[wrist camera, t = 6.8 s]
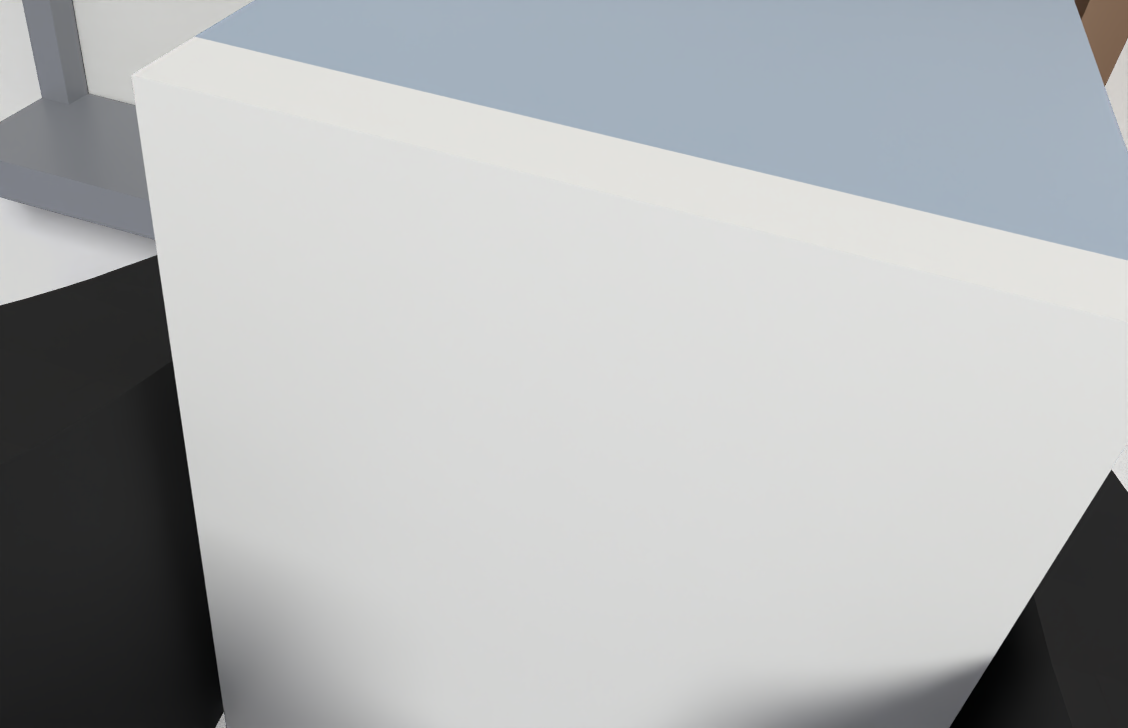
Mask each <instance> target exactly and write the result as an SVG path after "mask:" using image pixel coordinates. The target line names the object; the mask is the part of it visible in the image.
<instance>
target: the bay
mask: <svg viewBox="0 0 1128 728" xmlns="http://www.w3.org/2000/svg"><path fill="white" fill-rule="evenodd" d="M22 2H23V7H24V12H25V17H26V21H27V26H28V31H29V36H30V41H31V46H32V51H33V56H34V61H35V65H36V70H37V75H38V80H39V85H40V90H41V95H42V98H41V99H39V100H38V101H36V102H34V103H32V104H31V105H29V106H27V107H25V108H24V109H22V110H20V111H18V112H17V113H15V114H13V115H11V116H10V117H8V118H6V119H4V120H3V121H1V122H0V197H1V198H5V199H8V200H12V201H16V202H19V203H23V204H27V205H30V206H34V207H38V208H41V209H45V210H49V211H52V212H56V213H60V214H63V215H67V216H71V217H74V218H78V219H82V220H85V221H89V222H93V223H96V224H100V225H104V226H107V227H111V228H115V229H118V230H122V231H126V232H129V233H133V234H137V235H140V236H144V237H148V238H151V239H155V236H154V229H153V222H152V215H151V208H150V202H149V195H148V188H147V181H146V174H145V167H144V161H143V154H142V147H141V140H140V133H139V126H138V119H137V113H136V106H135V105H132V104H128V103H124V102H120V101H116V100H112V99H108V98H104V97H100V96H96V95H92V94H88V89H87V84H86V78H85V72H84V66H83V61H82V55H81V49H80V44H79V38H78V32H77V26H76V21H75V15H74V9H73V4H72V0H22Z"/></svg>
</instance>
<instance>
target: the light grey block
mask: <svg viewBox="0 0 1128 728" xmlns="http://www.w3.org/2000/svg"><path fill="white" fill-rule="evenodd" d="M131 78H132V85H133V92H134V99H135V106H136V113H137V119H138V126H139V133H140V140H141V147H142V154H143V161H144V167H145V174H146V181H147V188H148V195H149V202H150V208H151V215H152V222H153V229H154V236H155V243H156V250H157V256H158V263H159V270H160V277H161V284H162V291H163V297H164V304H165V311H166V318H167V325H168V332H169V339H170V345H171V352H172V359H173V366H174V373H175V380H176V386H177V393H178V400H179V407H180V414H181V421H182V428H183V434H184V441H185V448H186V455H187V462H188V469H189V476H190V482H191V489H192V496H193V503H194V510H195V517H196V523H197V530H198V537H199V544H200V551H201V558H202V565H203V571H204V578H205V585H206V592H207V599H208V606H209V612H210V619H211V626H212V633H213V640H214V647H215V654H216V660H217V667H218V674H219V681H220V688H221V695H222V701H223V708H224V715H225V722H226V728H949V727H950V726H951V724H952V722H953V721H954V719H955V718H956V716H957V714H958V713H959V711H960V710H961V708H962V706H963V705H964V703H965V702H966V700H967V698H968V697H969V695H970V694H971V692H972V691H973V689H974V687H975V686H976V684H977V683H978V681H979V679H980V678H981V676H982V675H983V673H984V671H985V670H986V668H987V667H988V665H989V663H990V662H991V660H992V659H993V657H994V656H995V654H996V652H997V651H998V649H999V648H1000V646H1001V644H1002V643H1003V641H1004V640H1005V638H1006V636H1007V635H1008V633H1009V632H1010V630H1011V628H1012V627H1013V625H1014V624H1015V622H1016V620H1017V619H1018V617H1019V616H1020V614H1021V613H1022V611H1023V609H1024V608H1025V606H1026V605H1027V603H1028V601H1029V600H1030V598H1031V597H1032V595H1033V593H1034V592H1035V590H1036V589H1037V587H1038V585H1039V584H1040V582H1041V581H1042V579H1043V578H1044V576H1045V574H1046V573H1047V571H1048V570H1049V568H1050V566H1051V565H1052V563H1053V562H1054V560H1055V558H1056V557H1057V555H1058V554H1059V552H1060V550H1061V549H1062V547H1063V546H1064V544H1065V542H1066V541H1067V539H1068V538H1069V536H1070V535H1071V533H1072V531H1073V530H1074V528H1075V527H1076V525H1077V523H1078V522H1079V520H1080V519H1081V517H1082V515H1083V514H1084V512H1085V511H1086V509H1087V507H1088V506H1089V504H1090V503H1091V501H1092V500H1093V498H1094V496H1095V495H1096V493H1097V492H1098V490H1099V488H1100V487H1101V485H1102V484H1103V482H1104V480H1105V479H1106V477H1107V476H1108V474H1109V472H1110V471H1111V469H1112V468H1113V466H1114V465H1115V463H1116V461H1117V460H1118V458H1119V457H1120V455H1121V453H1122V452H1123V450H1124V449H1125V447H1126V445H1127V444H1128V151H1127V149H1126V146H1125V143H1124V140H1123V137H1122V134H1121V132H1120V129H1119V126H1118V123H1117V120H1116V117H1115V115H1114V112H1113V109H1112V106H1111V103H1110V100H1109V98H1108V95H1107V92H1106V89H1105V86H1104V83H1103V81H1102V78H1101V75H1100V72H1099V69H1098V66H1097V64H1096V61H1095V58H1094V55H1093V52H1092V50H1091V47H1090V44H1089V41H1088V38H1087V35H1086V33H1085V30H1084V27H1083V24H1082V21H1081V18H1080V16H1079V13H1078V10H1077V7H1076V4H1075V1H1074V0H254V1H253V2H251V3H249V4H248V5H246V6H244V7H243V8H241V9H239V10H238V11H236V12H234V13H233V14H231V15H229V16H228V17H226V18H224V19H223V20H221V21H220V22H218V23H216V24H215V25H213V26H211V27H210V28H208V29H206V30H205V31H203V32H201V33H200V34H198V35H196V36H195V37H193V38H191V39H190V40H188V41H186V42H185V43H183V44H181V45H180V46H178V47H177V48H175V49H173V50H172V51H170V52H168V53H167V54H165V55H163V56H162V57H160V58H158V59H157V60H155V61H153V62H152V63H150V64H148V65H147V66H145V67H143V68H142V69H140V70H139V71H137V72H135V73H134V74H132V75H131Z"/></svg>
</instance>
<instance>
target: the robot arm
mask: <svg viewBox="0 0 1128 728" xmlns="http://www.w3.org/2000/svg"><path fill="white" fill-rule="evenodd" d="M223 712H224V708H223V701H222V695H221V688H220V681H219V674H218V667H217V660H216V654H215V647H214V640H213V633H212V626H211V619H210V612H209V606H208V599H207V592H206V585H205V578H204V571H203V565H202V558H201V551H200V544H199V537H198V530H197V523H196V517H195V510H194V503H193V496H192V489H191V482H190V476H189V469H188V462H187V455H186V448H185V441H184V434H183V428H182V421H181V414H180V407H179V400H178V393H177V386H176V380H175V373H174V366H173V359H172V352H171V345H170V339H169V332H168V325H167V318H166V311H165V304H164V297H163V291H162V284H161V277H160V270H159V263H158V256H157V255H156V256H153V257H150V258H148V259H145V260H142V261H139V262H136V263H134V264H131V265H128V266H125V267H122V268H120V269H117V270H114V271H111V272H108V273H106V274H103V275H100V276H97V277H94V278H92V279H89V280H85V281H82V282H79V283H76V284H73V285H70V286H67V287H63V288H60V289H57V290H53V291H50V292H47V293H43V294H40V295H37V296H33V297H30V298H26V299H23V300H19V301H15V302H12V303H8V304H4V305H0V728H215V727H216V725H217V723H218V721H219V720H220V718H221V716H222V714H223ZM949 728H1128V492H1127V490H1126V489H1125V488H1124V486H1123V485H1122V484H1121V482H1120V481H1119V479H1118V478H1117V477H1116V475H1115V474H1114V472H1113V471H1112V469H1111V471H1110V472H1109V474H1108V476H1107V477H1106V479H1105V480H1104V482H1103V484H1102V485H1101V487H1100V488H1099V490H1098V492H1097V493H1096V495H1095V496H1094V498H1093V500H1092V501H1091V503H1090V504H1089V506H1088V507H1087V509H1086V511H1085V512H1084V514H1083V515H1082V517H1081V519H1080V520H1079V522H1078V523H1077V525H1076V527H1075V528H1074V530H1073V531H1072V533H1071V535H1070V536H1069V538H1068V539H1067V541H1066V542H1065V544H1064V546H1063V547H1062V549H1061V550H1060V552H1059V554H1058V555H1057V557H1056V558H1055V560H1054V562H1053V563H1052V565H1051V566H1050V568H1049V570H1048V571H1047V573H1046V574H1045V576H1044V578H1043V579H1042V581H1041V582H1040V584H1039V585H1038V587H1037V589H1036V590H1035V592H1034V593H1033V595H1032V597H1031V598H1030V600H1029V601H1028V603H1027V605H1026V606H1025V608H1024V609H1023V611H1022V613H1021V614H1020V616H1019V617H1018V619H1017V620H1016V622H1015V624H1014V625H1013V627H1012V628H1011V630H1010V632H1009V633H1008V635H1007V636H1006V638H1005V640H1004V641H1003V643H1002V644H1001V646H1000V648H999V649H998V651H997V652H996V654H995V656H994V657H993V659H992V660H991V662H990V663H989V665H988V667H987V668H986V670H985V671H984V673H983V675H982V676H981V678H980V679H979V681H978V683H977V684H976V686H975V687H974V689H973V691H972V692H971V694H970V695H969V697H968V698H967V700H966V702H965V703H964V705H963V706H962V708H961V710H960V711H959V713H958V714H957V716H956V718H955V719H954V721H953V722H952V724H951V726H950V727H949Z"/></svg>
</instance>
